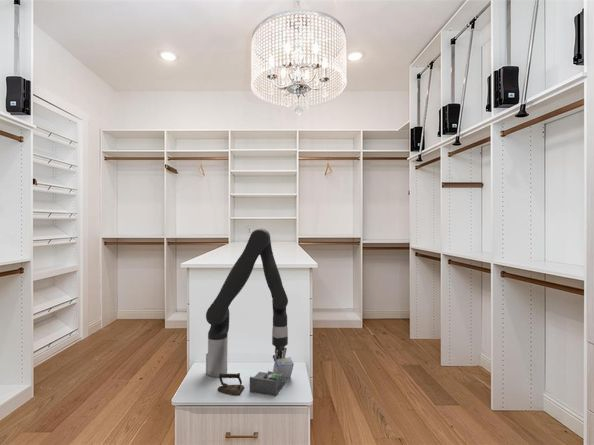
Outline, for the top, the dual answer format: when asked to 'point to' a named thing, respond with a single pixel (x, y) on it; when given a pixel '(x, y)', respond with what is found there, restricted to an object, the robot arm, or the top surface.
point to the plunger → (270, 375)
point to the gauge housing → (266, 384)
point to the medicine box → (284, 367)
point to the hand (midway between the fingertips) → (279, 371)
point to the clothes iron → (230, 389)
